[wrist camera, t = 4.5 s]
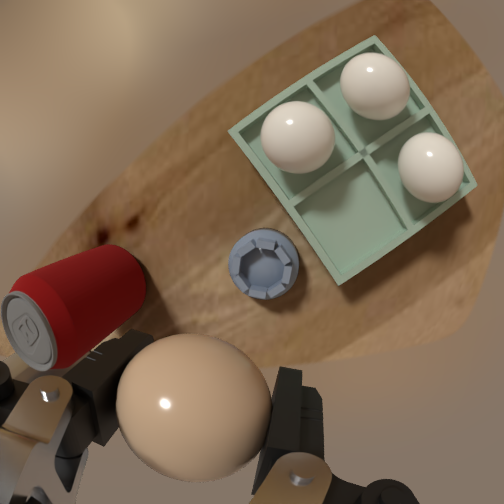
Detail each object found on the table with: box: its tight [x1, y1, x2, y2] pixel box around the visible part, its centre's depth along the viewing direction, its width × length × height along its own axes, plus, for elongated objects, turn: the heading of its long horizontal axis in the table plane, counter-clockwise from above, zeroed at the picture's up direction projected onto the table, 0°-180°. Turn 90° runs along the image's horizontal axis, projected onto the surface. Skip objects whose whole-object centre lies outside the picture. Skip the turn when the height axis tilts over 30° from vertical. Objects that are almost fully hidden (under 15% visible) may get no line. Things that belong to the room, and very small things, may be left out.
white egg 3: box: [398, 132, 464, 203], centre depth 16 cm, size 4×4×4 cm
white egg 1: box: [260, 101, 335, 174], centre depth 17 cm, size 4×4×4 cm
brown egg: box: [115, 333, 272, 482], centre depth 8 cm, size 4×4×4 cm
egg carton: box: [228, 35, 477, 286], centre depth 19 cm, size 12×12×3 cm
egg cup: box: [228, 228, 299, 300], centre depth 22 cm, size 5×5×3 cm
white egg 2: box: [340, 53, 410, 120], centre depth 16 cm, size 4×4×4 cm
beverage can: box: [1, 245, 146, 371], centre depth 20 cm, size 7×7×12 cm
